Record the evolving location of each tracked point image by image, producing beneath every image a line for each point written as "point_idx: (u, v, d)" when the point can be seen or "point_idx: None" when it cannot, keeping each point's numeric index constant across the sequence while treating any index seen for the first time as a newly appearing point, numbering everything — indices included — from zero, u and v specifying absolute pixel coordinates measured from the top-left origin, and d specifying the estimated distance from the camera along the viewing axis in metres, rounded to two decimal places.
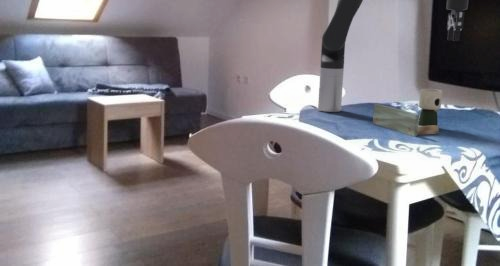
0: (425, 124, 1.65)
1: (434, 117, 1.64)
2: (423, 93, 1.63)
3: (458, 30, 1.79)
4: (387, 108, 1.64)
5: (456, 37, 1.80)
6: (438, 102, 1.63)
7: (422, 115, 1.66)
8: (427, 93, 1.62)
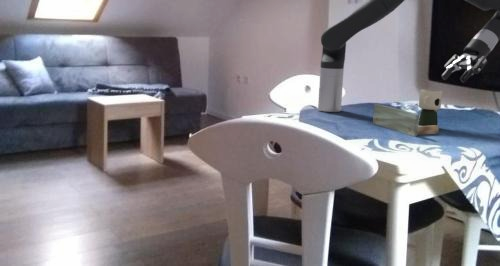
0: (425, 124, 1.65)
1: (434, 117, 1.64)
2: (423, 93, 1.63)
3: (471, 73, 1.63)
4: (387, 108, 1.64)
5: (465, 77, 1.62)
6: (438, 102, 1.63)
7: (422, 115, 1.66)
8: (427, 93, 1.62)
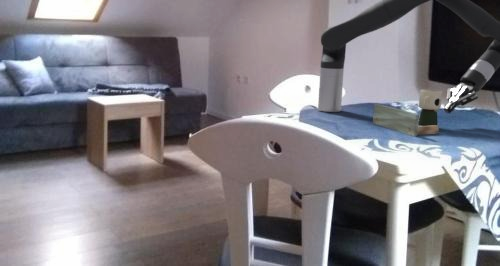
0: (425, 124, 1.65)
1: (434, 117, 1.64)
2: (423, 93, 1.63)
3: (457, 104, 1.68)
4: (387, 108, 1.64)
5: (451, 109, 1.68)
6: (438, 102, 1.63)
7: (422, 115, 1.66)
8: (427, 93, 1.62)
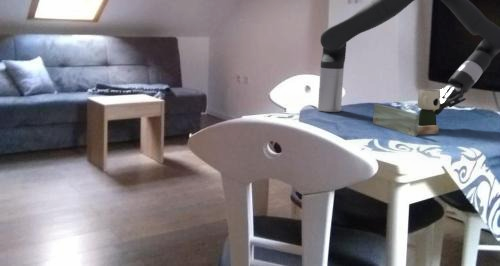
0: (424, 124, 1.64)
1: (433, 117, 1.64)
2: (422, 93, 1.63)
3: (444, 106, 1.66)
4: (387, 108, 1.64)
5: (439, 110, 1.66)
6: (437, 102, 1.63)
7: (421, 115, 1.65)
8: (426, 93, 1.62)
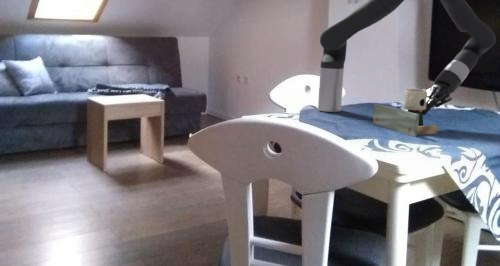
0: None
1: (419, 118, 1.62)
2: (408, 94, 1.61)
3: (431, 106, 1.64)
4: (387, 108, 1.64)
5: (425, 111, 1.64)
6: (423, 102, 1.61)
7: None
8: (412, 94, 1.60)
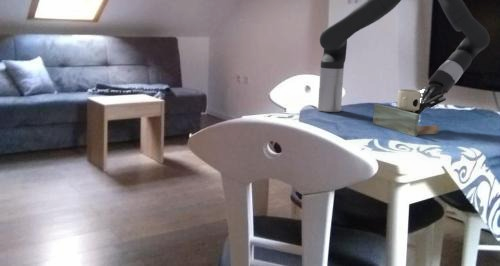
0: None
1: None
2: (401, 94, 1.60)
3: (424, 106, 1.63)
4: (387, 108, 1.64)
5: (419, 111, 1.63)
6: (416, 103, 1.59)
7: None
8: (405, 94, 1.59)
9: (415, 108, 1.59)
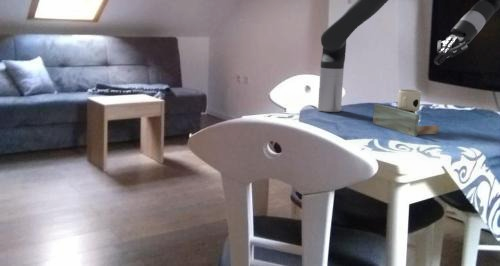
0: None
1: None
2: (402, 94, 1.60)
3: (447, 55, 1.65)
4: (387, 108, 1.64)
5: (441, 60, 1.65)
6: (417, 103, 1.59)
7: None
8: (405, 94, 1.59)
9: (415, 108, 1.59)
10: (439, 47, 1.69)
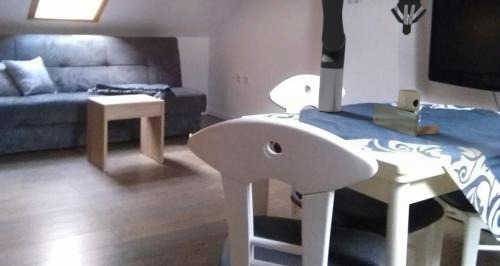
0: None
1: None
2: (402, 94, 1.60)
3: (411, 24, 1.77)
4: (387, 108, 1.64)
5: None
6: (417, 103, 1.59)
7: None
8: (405, 94, 1.59)
9: (415, 108, 1.59)
10: (399, 17, 1.76)
